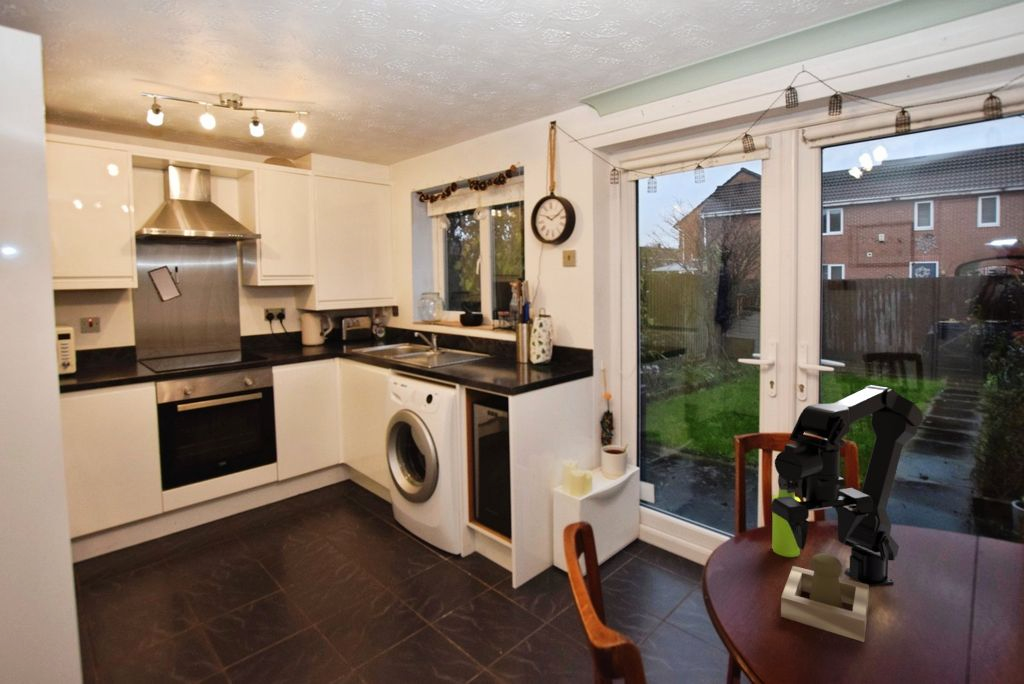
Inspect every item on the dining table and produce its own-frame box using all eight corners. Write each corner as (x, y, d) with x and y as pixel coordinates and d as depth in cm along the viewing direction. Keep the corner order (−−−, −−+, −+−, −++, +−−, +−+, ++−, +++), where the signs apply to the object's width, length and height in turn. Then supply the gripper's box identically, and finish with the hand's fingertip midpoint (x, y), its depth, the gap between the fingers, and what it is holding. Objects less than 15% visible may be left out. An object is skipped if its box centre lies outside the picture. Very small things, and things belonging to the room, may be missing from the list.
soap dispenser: (809, 556, 124) (810, 474, 122) (779, 557, 124) (780, 475, 122) (796, 544, 130) (797, 465, 128) (767, 545, 130) (768, 466, 128)
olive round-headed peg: (848, 621, 101) (850, 566, 99) (813, 618, 102) (814, 564, 101) (836, 602, 107) (837, 550, 105) (803, 599, 108) (804, 548, 107)
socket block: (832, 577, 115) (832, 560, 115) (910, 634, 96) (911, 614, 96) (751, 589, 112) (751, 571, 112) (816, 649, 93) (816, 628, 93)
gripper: (832, 452, 114) (831, 521, 115) (753, 462, 111) (754, 533, 112) (876, 470, 103) (874, 546, 105) (790, 481, 100) (790, 559, 101)
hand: (821, 545), depth 106 cm, fingers open, 9 cm apart
